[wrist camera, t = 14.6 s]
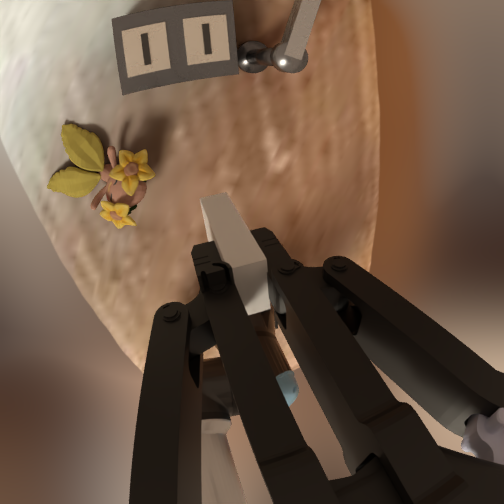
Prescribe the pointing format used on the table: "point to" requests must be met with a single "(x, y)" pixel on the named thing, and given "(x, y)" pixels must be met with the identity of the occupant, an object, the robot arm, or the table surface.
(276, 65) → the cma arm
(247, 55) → the post
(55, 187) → the figurine
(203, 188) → the table surface
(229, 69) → the block
